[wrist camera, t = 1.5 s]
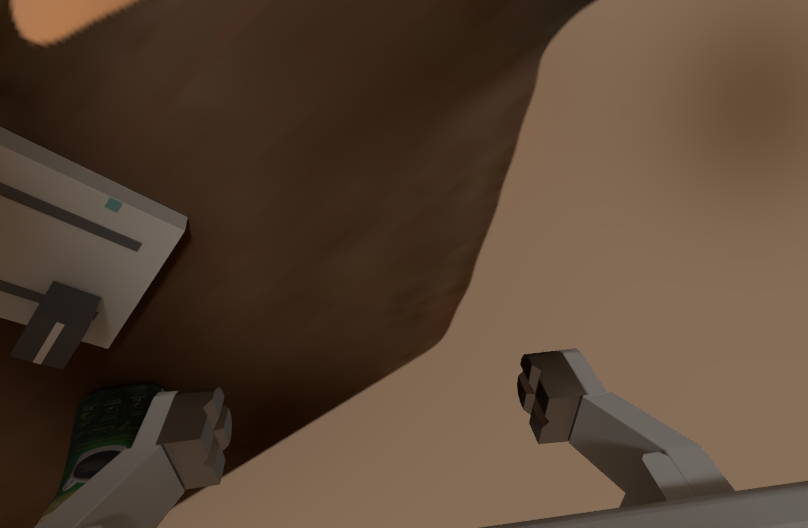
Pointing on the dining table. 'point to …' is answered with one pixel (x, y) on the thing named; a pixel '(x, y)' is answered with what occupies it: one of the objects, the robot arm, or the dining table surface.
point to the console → (76, 236)
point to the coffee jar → (102, 434)
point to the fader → (56, 326)
